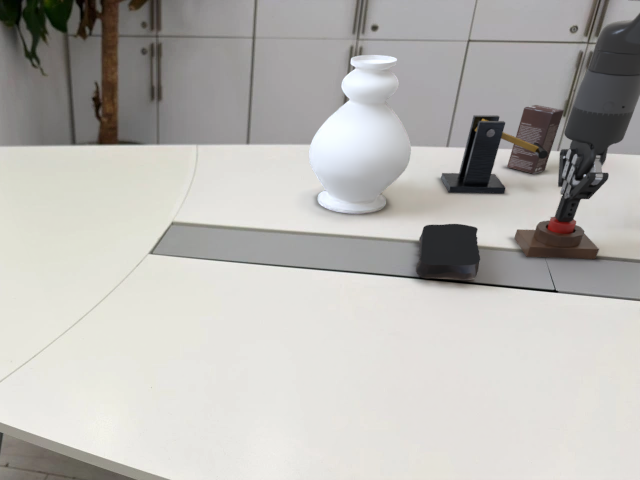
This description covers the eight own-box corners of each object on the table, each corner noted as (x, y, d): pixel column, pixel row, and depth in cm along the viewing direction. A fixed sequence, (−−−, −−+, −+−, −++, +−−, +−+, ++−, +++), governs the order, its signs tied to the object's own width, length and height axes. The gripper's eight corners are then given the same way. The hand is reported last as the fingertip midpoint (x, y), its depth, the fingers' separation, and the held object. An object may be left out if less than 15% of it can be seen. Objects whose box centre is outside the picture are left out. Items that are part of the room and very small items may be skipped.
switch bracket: (493, 179, 135) (511, 113, 128) (504, 193, 129) (524, 124, 122) (440, 178, 137) (456, 113, 130) (448, 192, 131) (465, 124, 123)
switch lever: (534, 154, 130) (542, 142, 129) (542, 162, 126) (551, 150, 125) (472, 128, 129) (480, 116, 128) (479, 135, 125) (487, 123, 124)
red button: (568, 226, 108) (571, 216, 107) (576, 235, 105) (580, 225, 104) (543, 225, 109) (547, 215, 108) (551, 234, 106) (554, 224, 105)
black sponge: (475, 289, 99) (482, 266, 97) (414, 281, 102) (419, 259, 99) (472, 245, 111) (478, 224, 109) (417, 239, 114) (422, 218, 112)
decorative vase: (287, 192, 134) (301, 55, 119) (366, 180, 138) (389, 46, 123) (333, 225, 120) (355, 74, 105) (420, 211, 124) (453, 63, 109)
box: (545, 170, 139) (565, 109, 132) (532, 175, 137) (552, 113, 130) (518, 163, 143) (536, 103, 136) (505, 167, 141) (522, 107, 134)
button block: (579, 240, 111) (586, 220, 109) (595, 259, 105) (603, 238, 103) (513, 238, 113) (520, 218, 111) (526, 256, 107) (533, 236, 105)
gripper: (654, 117, 90) (605, 238, 100) (614, 93, 101) (573, 205, 111) (593, 116, 91) (551, 236, 101) (559, 93, 102) (524, 204, 112)
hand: (563, 219), depth 106 cm, fingers closed
